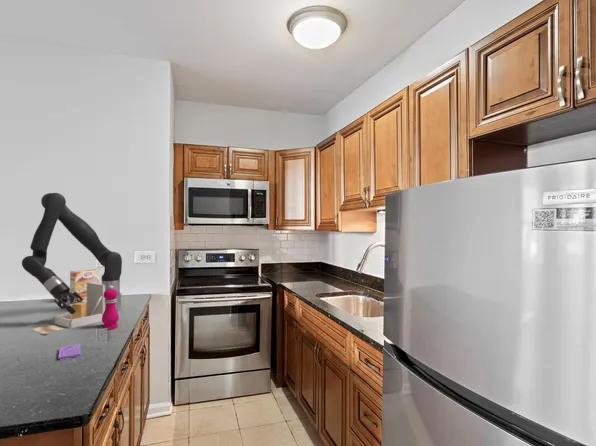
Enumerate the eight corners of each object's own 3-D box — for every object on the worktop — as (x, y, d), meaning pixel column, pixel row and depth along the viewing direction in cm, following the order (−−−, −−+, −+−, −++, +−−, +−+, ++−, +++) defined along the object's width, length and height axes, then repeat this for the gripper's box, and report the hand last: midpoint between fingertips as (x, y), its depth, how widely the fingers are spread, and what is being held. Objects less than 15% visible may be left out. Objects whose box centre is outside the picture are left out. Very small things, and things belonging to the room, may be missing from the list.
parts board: (52, 326, 174) (52, 324, 174) (65, 330, 168) (65, 328, 168) (30, 331, 166) (30, 329, 166) (43, 335, 160) (43, 333, 160)
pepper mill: (111, 330, 169) (112, 287, 169) (98, 329, 170) (98, 286, 170) (122, 326, 176) (122, 284, 176) (109, 325, 177) (109, 284, 177)
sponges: (80, 348, 146) (80, 343, 146) (80, 358, 136) (80, 353, 136) (59, 351, 143) (59, 346, 143) (58, 361, 132) (58, 356, 132)
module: (77, 320, 181) (77, 302, 181) (86, 320, 181) (86, 302, 181) (72, 323, 177) (72, 304, 177) (81, 323, 177) (81, 304, 177)
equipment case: (89, 318, 190) (89, 282, 190) (104, 322, 183) (105, 285, 183) (54, 325, 176) (54, 287, 176) (70, 330, 169) (70, 290, 169)
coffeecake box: (75, 304, 222) (75, 272, 222) (69, 302, 226) (69, 271, 226) (99, 299, 235) (100, 269, 235) (93, 298, 239) (94, 268, 239)
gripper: (52, 284, 172) (75, 309, 172) (71, 279, 186) (93, 302, 186) (40, 295, 172) (64, 320, 172) (60, 290, 187) (82, 312, 186)
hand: (79, 311), depth 179 cm, fingers open, 8 cm apart
